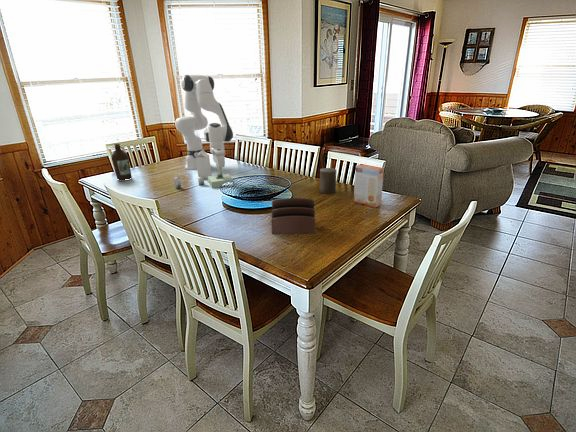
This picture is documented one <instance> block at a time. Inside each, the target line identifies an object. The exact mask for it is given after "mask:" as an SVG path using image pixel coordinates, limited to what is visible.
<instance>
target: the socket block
mask: <svg viewBox="0 0 576 432" xmlns="http://www.w3.org/2000/svg"><path fill="white" fill-rule="evenodd" d="M207 181H208V183H209V186H210V187H211V188H212V189H215V188H221V187H220V186H221V185H222V184H224V183H227V182H233V183H234V178H233V177H232V176H230V174H229V173H223V177H221V178H218V177H217V175H211V176H208V178H207Z"/></svg>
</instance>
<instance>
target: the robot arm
mask: <svg viewBox="0 0 576 432" xmlns="http://www.w3.org/2000/svg"><path fill="white" fill-rule="evenodd" d="M180 83H181V88H182V90H184V91H185V93H184V108H185V109H186V111H187V112H189V113H190V115H187V116H180V117H178V118H176V119H175V122H174V126H175V127H174V128H176V130H177V131H178V132H179V133H180V134H182V135H183V137H184V139H185V142H186V146H187V147H186V149H187V150H186V154H187V156H186V158H185V163H186V164H185V166H184V169H186V170H187V169H188V170H198V169H197V162H196V157H197V156H198V153H199V152H200V151H202V150H203V149H204V148H203V142H202V141H203V140H202V138H201V137H200V136H199V135H196V133H195V131H201V130H204V129H205V130H204V131H203V135H204V141H206V142H207V143H209V150H210V153H211V154H212V159H213V162H214V163H215V165H216V164H217V165H218V167H219V172H222V171H223V168H225V167H226V159H225V155H226V150H225V142H226V143H227V142H231V141H232V139H233V138H234V132H233V130H232V129H233V128H232V127H231V125H230V123H229V121H228V118H227V115H226V113H225V110H224V108H223V106H222V104H221V103H220V102H218V100H216V98H215V94H214V89H215V81H214V78H213V77H212V76H209V75H201V74H185V75H182V77H181V81H180ZM202 109H203V110H204V111H207V112H211V113H213V114H215V115H217V116H218V119H219V121H220V123H218V122H212V123H209V124H208V118H207V117H206V116H205V115H204V114H203V112H202ZM207 126H208V127H207Z"/></svg>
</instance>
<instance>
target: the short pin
mask: <svg viewBox="0 0 576 432" xmlns="http://www.w3.org/2000/svg"><path fill="white" fill-rule="evenodd" d="M197 181H198V186H199V187H200V186H201V187H202V186H205V178H204V177H197Z"/></svg>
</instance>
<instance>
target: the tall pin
mask: <svg viewBox="0 0 576 432" xmlns="http://www.w3.org/2000/svg"><path fill="white" fill-rule="evenodd" d="M215 166H216V167H215V168H216V174H217V177H218V178H221V177H223V174H224V173H223V170H222V172H219V167H218V165H217V164H216V163H215Z"/></svg>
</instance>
